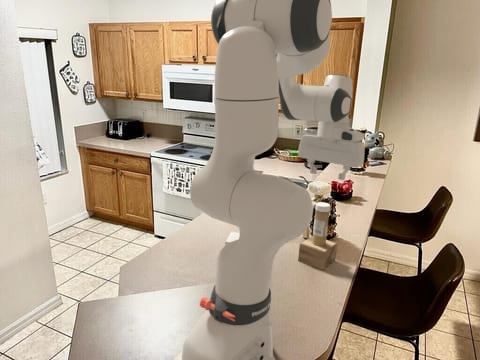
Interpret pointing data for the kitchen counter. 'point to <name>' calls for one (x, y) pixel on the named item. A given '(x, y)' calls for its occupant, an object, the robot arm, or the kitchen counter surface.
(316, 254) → the tan cardboard box
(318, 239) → the sprinkles bottle
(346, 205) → the kitchen counter surface
